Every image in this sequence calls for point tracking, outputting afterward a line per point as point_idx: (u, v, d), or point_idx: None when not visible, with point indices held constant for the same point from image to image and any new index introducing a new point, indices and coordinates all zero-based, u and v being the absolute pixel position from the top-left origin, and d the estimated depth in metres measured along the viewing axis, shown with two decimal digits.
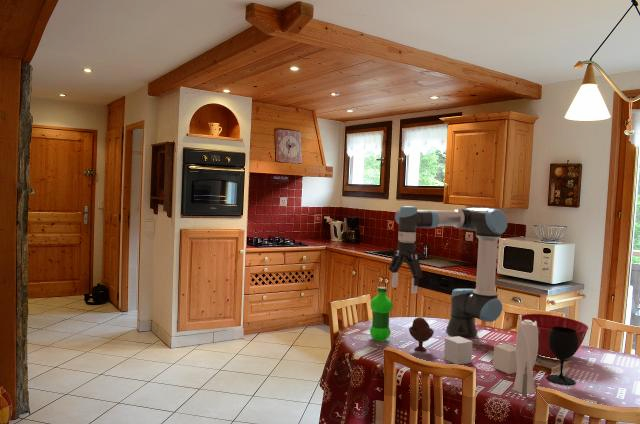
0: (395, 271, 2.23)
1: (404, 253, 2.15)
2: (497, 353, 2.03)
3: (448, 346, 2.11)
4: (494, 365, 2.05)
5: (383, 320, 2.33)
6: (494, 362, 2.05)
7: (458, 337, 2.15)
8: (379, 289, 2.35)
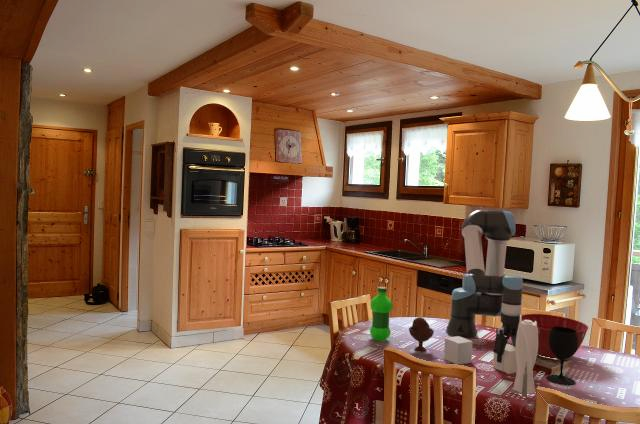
0: None
1: None
2: None
3: (448, 346, 2.11)
4: (494, 365, 2.05)
5: (383, 320, 2.33)
6: (494, 362, 2.05)
7: (458, 337, 2.15)
8: (379, 289, 2.35)
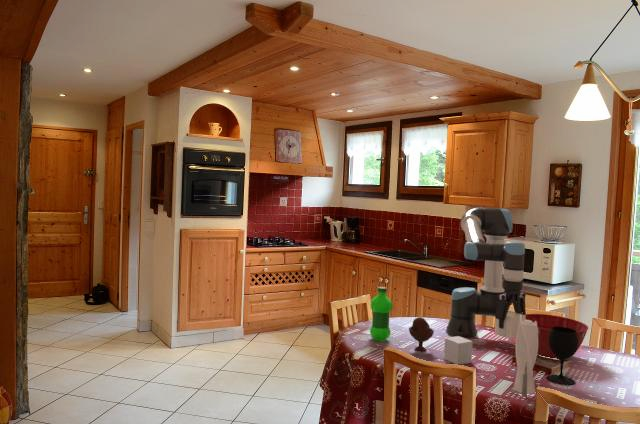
0: None
1: None
2: None
3: (448, 346, 2.11)
4: (496, 332, 2.04)
5: (383, 320, 2.33)
6: (496, 328, 2.04)
7: (458, 337, 2.15)
8: (379, 289, 2.35)
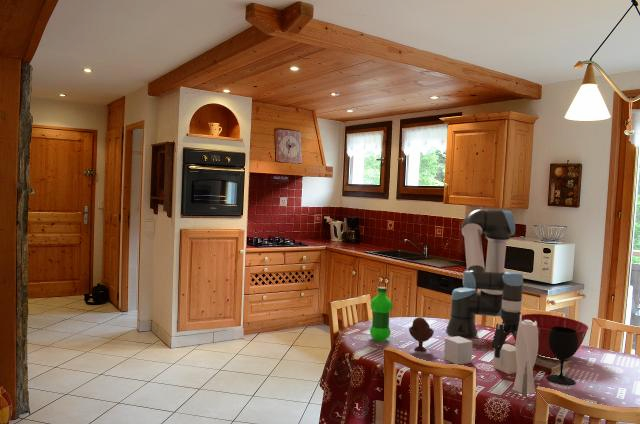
0: None
1: None
2: None
3: (448, 346, 2.11)
4: (494, 365, 2.05)
5: (383, 320, 2.33)
6: (494, 362, 2.05)
7: (458, 337, 2.15)
8: (379, 289, 2.35)
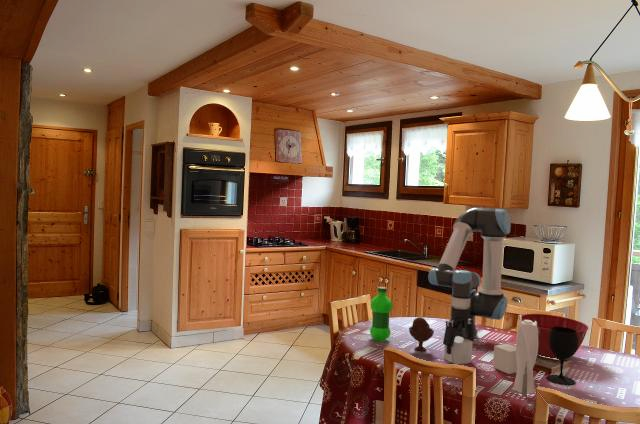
0: None
1: None
2: (497, 353, 2.03)
3: None
4: (494, 365, 2.05)
5: (383, 320, 2.33)
6: (494, 362, 2.05)
7: (458, 337, 2.15)
8: (379, 289, 2.35)
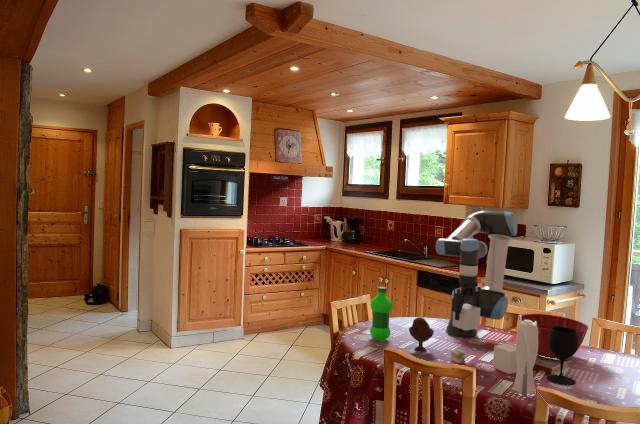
0: None
1: None
2: (497, 353, 2.03)
3: None
4: (494, 365, 2.05)
5: (383, 320, 2.33)
6: (494, 362, 2.05)
7: (466, 304, 2.19)
8: (379, 289, 2.35)
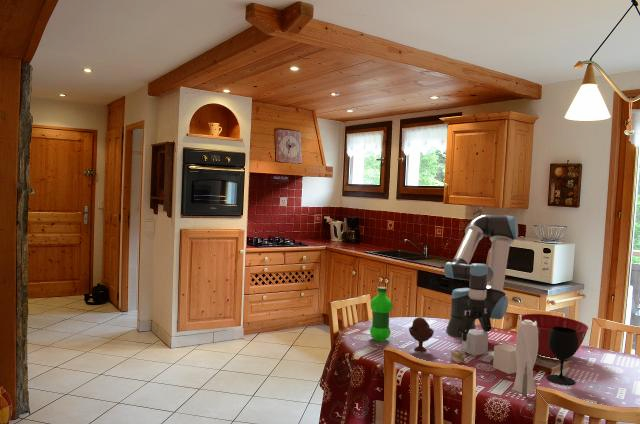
0: (485, 330, 2.27)
1: None
2: (497, 353, 2.03)
3: None
4: (494, 365, 2.05)
5: (383, 320, 2.33)
6: (494, 362, 2.05)
7: (474, 330, 2.28)
8: (379, 289, 2.35)
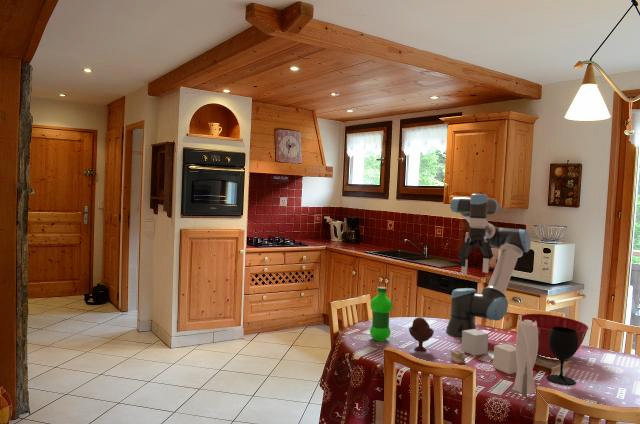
0: (487, 257, 2.33)
1: None
2: (497, 353, 2.03)
3: (465, 338, 2.24)
4: (494, 365, 2.05)
5: (383, 320, 2.33)
6: (494, 362, 2.05)
7: (474, 330, 2.28)
8: (379, 289, 2.35)
